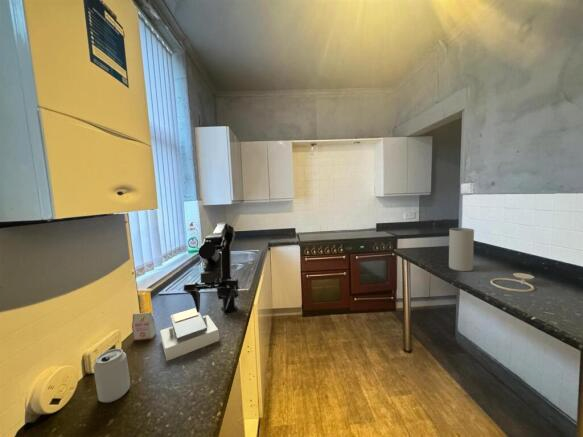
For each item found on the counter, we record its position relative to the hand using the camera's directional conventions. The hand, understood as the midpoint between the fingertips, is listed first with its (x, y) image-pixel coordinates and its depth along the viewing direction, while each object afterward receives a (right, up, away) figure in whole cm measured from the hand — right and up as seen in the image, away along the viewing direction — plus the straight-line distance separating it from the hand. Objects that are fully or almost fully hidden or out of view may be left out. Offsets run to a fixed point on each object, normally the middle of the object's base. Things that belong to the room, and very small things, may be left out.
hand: (211, 311), depth 85 cm
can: (-23, -18, -15) cm, 33 cm away
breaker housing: (-11, -15, +9) cm, 20 cm away
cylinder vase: (+135, 0, +70) cm, 152 cm away
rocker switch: (-11, -8, +8) cm, 16 cm away
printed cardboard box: (-31, -16, +13) cm, 37 cm away
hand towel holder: (+143, -3, +42) cm, 149 cm away
